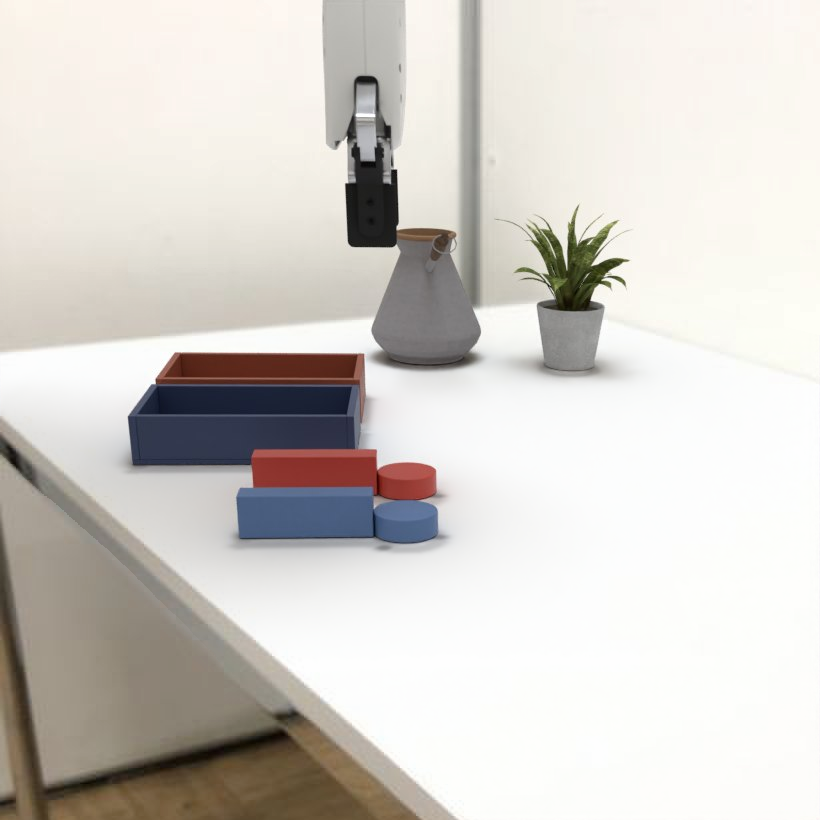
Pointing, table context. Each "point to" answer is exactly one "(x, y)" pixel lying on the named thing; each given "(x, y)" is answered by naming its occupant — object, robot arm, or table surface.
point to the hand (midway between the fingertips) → (374, 236)
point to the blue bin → (240, 421)
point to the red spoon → (341, 472)
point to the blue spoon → (331, 514)
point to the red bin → (266, 369)
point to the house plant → (571, 296)
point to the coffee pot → (425, 302)
